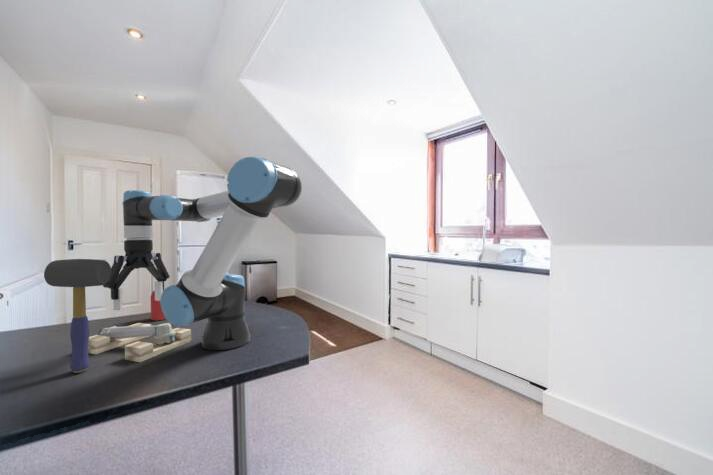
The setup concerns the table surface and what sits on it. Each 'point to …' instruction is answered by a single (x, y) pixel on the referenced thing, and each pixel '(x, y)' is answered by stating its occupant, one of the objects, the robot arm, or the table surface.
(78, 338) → the rubber mallet
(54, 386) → the table surface
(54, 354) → the table surface
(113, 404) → the table surface
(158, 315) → the beer can
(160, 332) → the light grey long bar
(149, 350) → the v block cradle
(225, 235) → the robot arm
